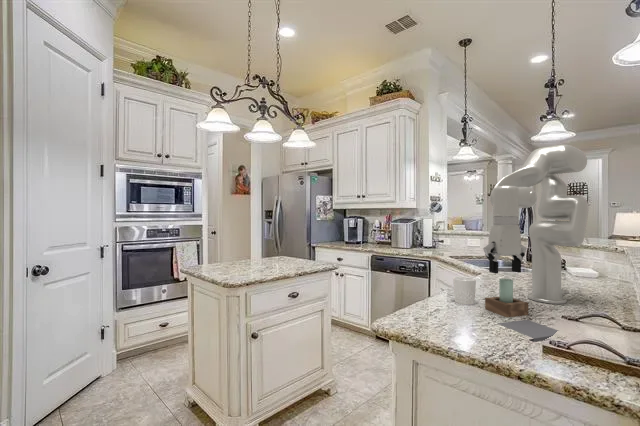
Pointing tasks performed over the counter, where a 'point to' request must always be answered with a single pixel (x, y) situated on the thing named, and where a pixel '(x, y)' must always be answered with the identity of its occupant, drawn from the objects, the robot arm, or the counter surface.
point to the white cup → (464, 290)
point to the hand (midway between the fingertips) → (505, 272)
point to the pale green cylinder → (506, 290)
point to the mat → (530, 329)
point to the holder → (506, 307)
